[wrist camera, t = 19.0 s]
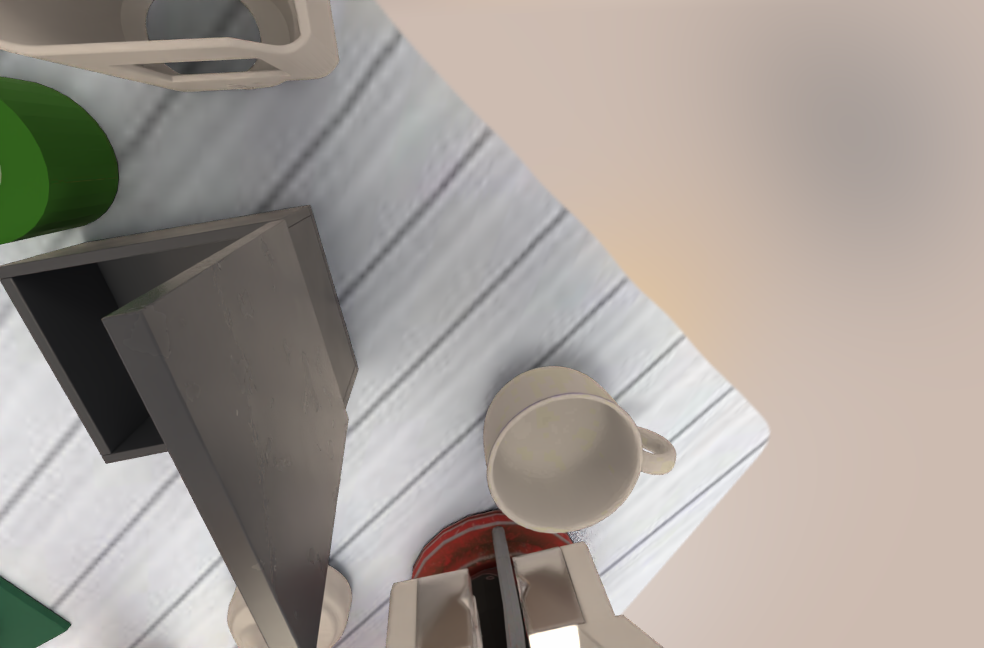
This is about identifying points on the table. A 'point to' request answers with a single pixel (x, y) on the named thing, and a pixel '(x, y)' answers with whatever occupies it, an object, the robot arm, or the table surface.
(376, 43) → the table surface
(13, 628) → the mat
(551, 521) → the teacup
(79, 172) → the candle
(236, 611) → the sculpture
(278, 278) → the chest lid
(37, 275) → the chest
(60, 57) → the cable organizer
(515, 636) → the hourglass
